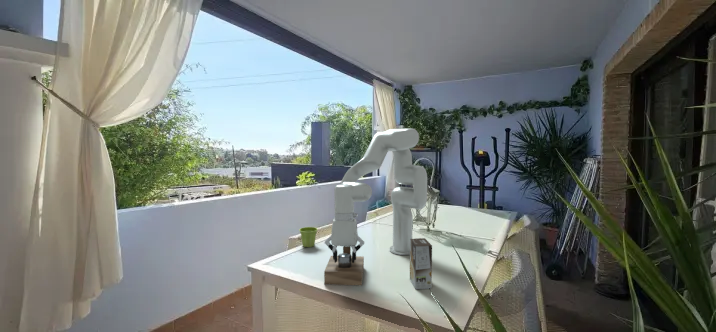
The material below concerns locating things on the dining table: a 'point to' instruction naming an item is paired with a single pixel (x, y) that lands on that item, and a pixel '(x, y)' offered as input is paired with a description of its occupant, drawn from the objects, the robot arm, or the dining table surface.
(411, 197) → the robot arm
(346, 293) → the dining table surface
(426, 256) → the coffee box
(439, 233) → the dining table surface
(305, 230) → the plant pot
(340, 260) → the pin
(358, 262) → the block
